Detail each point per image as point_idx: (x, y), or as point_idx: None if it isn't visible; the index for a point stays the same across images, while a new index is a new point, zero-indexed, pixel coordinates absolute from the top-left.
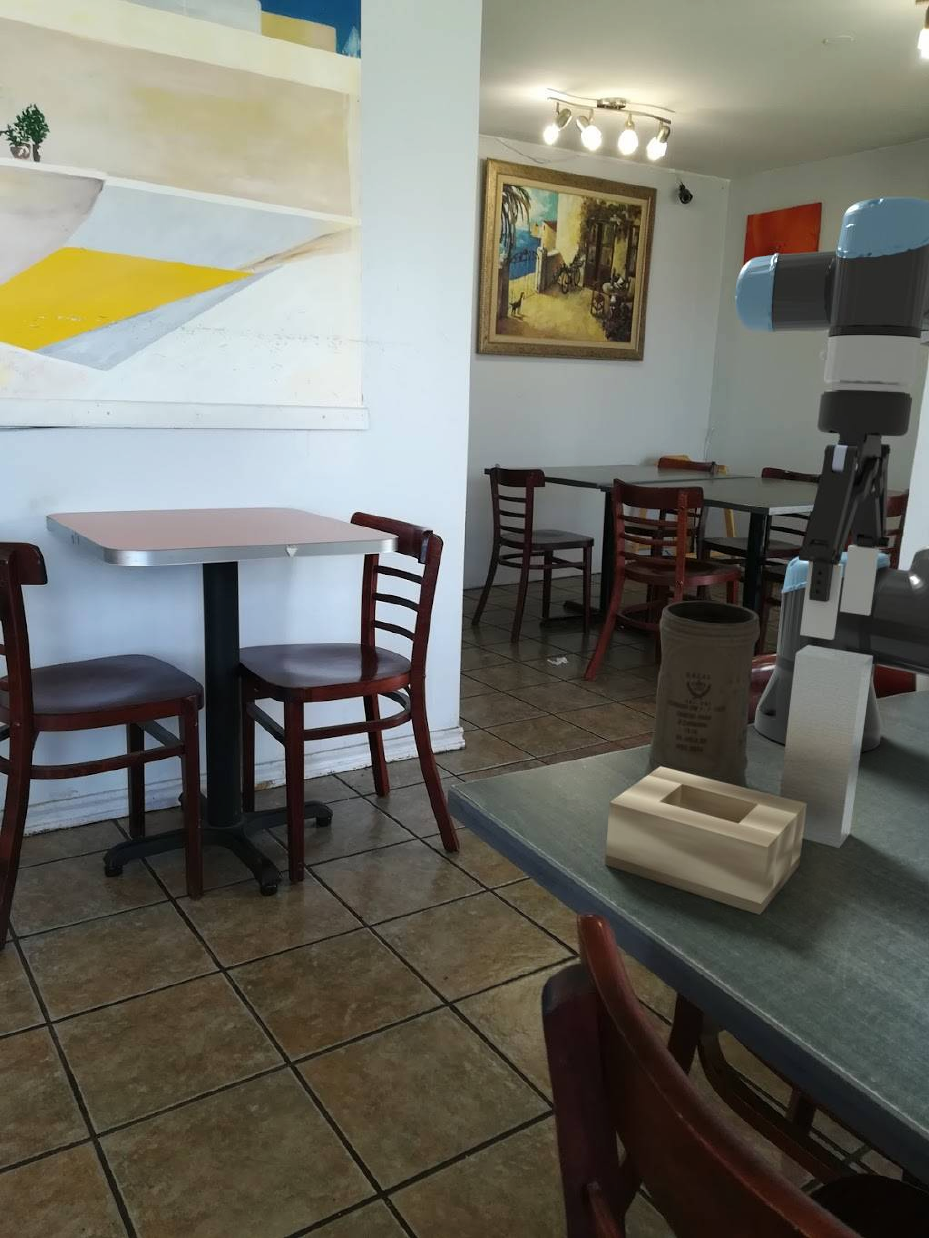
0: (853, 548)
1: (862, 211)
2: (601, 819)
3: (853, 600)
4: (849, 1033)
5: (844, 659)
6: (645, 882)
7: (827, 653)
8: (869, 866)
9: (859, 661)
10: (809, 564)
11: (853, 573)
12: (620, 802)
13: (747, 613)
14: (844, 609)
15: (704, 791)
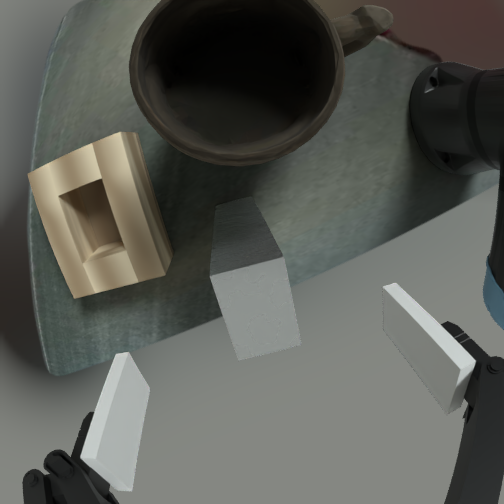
0: (455, 376)
1: None
2: (108, 101)
3: (393, 319)
4: (61, 350)
5: (243, 335)
6: None
7: (254, 305)
8: None
9: (250, 351)
10: (82, 454)
11: (422, 345)
12: (33, 179)
13: (326, 101)
14: (385, 295)
15: (109, 200)
